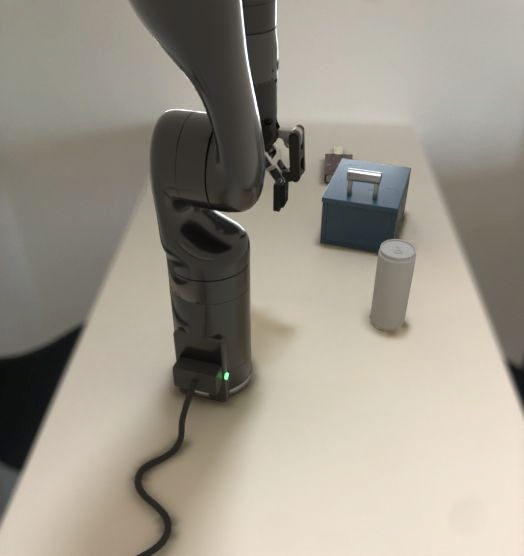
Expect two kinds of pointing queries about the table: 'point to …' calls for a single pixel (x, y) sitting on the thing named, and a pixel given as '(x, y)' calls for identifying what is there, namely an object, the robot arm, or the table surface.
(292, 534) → the table surface
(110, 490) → the table surface
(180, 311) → the robot arm
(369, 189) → the lid
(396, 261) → the beverage can
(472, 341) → the table surface
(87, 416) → the table surface
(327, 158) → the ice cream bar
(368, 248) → the blue open box
